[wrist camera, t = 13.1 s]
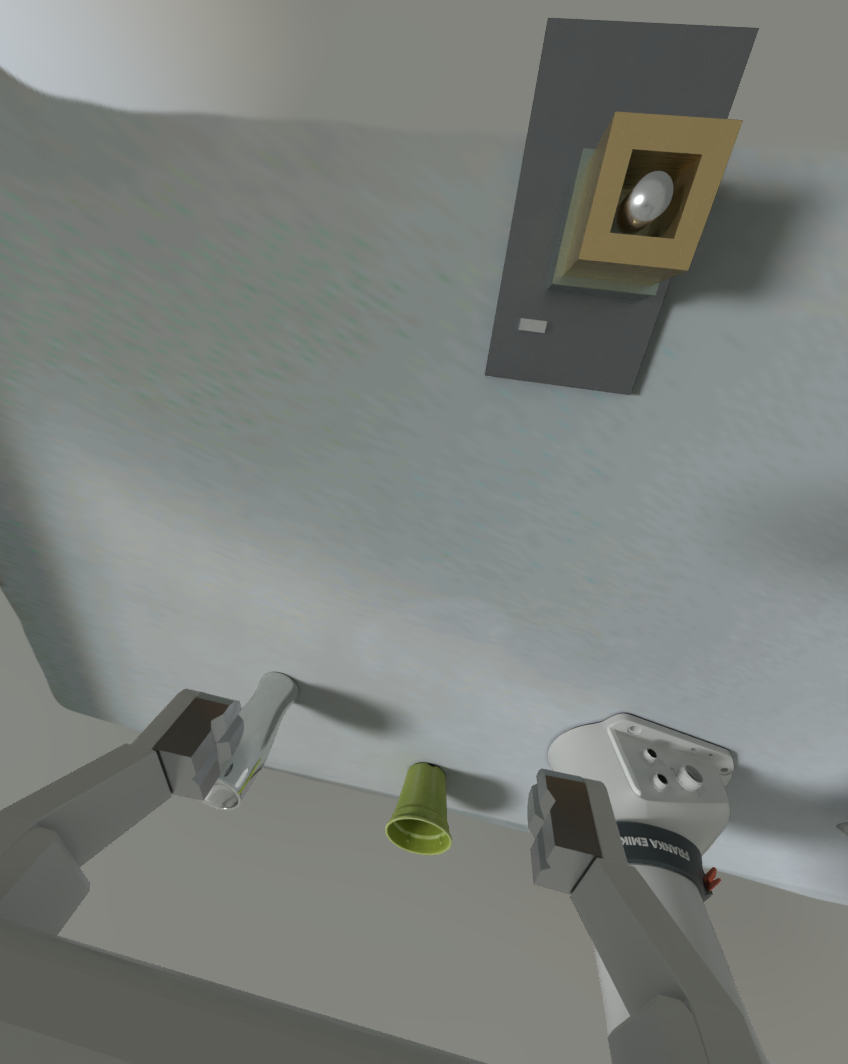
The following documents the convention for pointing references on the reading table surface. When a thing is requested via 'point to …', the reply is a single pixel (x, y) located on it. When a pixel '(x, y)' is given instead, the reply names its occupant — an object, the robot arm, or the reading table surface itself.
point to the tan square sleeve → (619, 164)
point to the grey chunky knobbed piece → (843, 827)
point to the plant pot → (421, 813)
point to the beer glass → (253, 740)
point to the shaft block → (558, 180)
